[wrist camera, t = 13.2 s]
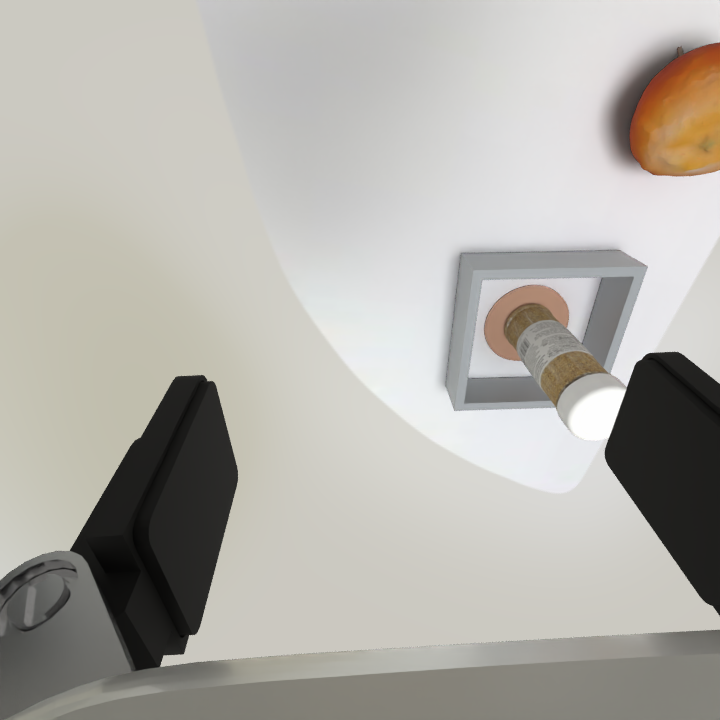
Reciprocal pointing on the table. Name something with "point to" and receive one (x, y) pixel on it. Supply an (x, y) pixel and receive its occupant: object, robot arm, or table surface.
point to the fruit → (680, 116)
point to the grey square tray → (604, 324)
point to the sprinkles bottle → (566, 372)
